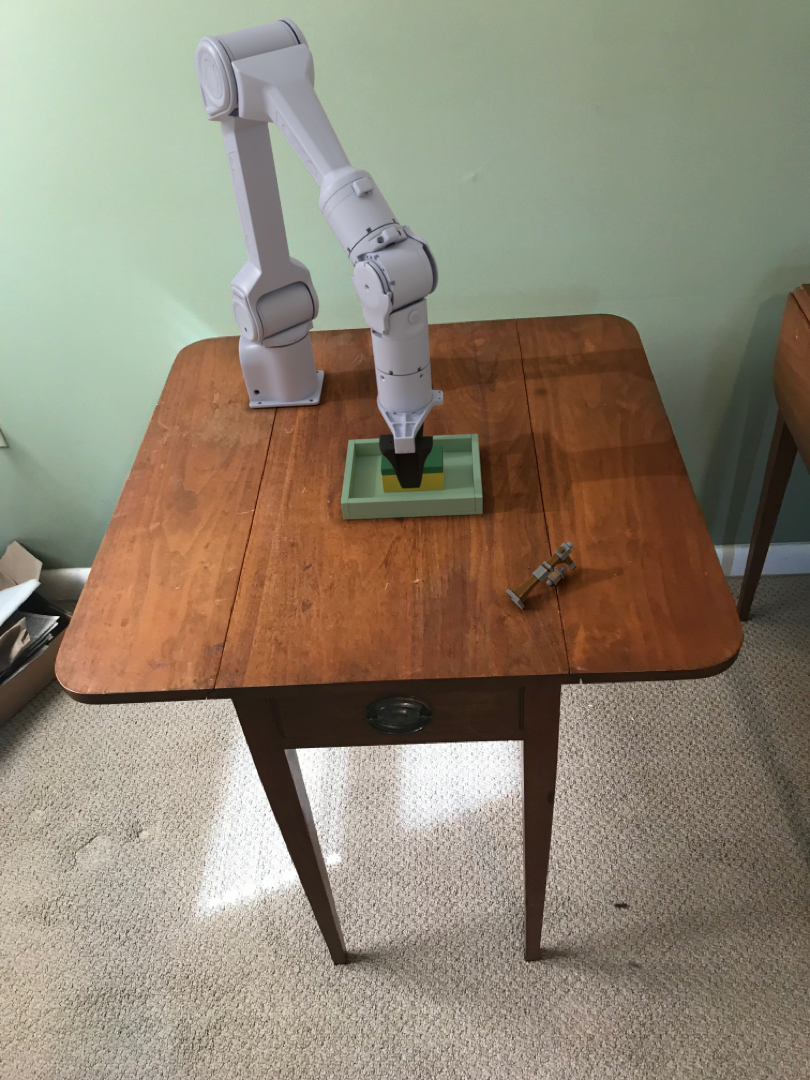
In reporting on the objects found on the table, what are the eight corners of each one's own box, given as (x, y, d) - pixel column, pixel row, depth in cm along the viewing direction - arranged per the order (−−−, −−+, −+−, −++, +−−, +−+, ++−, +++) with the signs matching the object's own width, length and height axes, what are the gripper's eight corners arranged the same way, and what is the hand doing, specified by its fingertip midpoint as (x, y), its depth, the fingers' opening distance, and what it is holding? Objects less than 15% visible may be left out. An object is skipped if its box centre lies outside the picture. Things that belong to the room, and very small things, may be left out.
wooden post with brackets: (587, 564, 77) (576, 543, 74) (529, 619, 77) (516, 601, 74) (574, 554, 78) (563, 533, 75) (518, 608, 78) (504, 589, 75)
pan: (343, 519, 86) (340, 503, 85) (351, 455, 95) (348, 439, 93) (482, 514, 85) (482, 497, 84) (478, 450, 94) (477, 433, 92)
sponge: (383, 492, 88) (380, 468, 86) (384, 470, 91) (382, 447, 89) (444, 490, 88) (442, 466, 86) (443, 468, 91) (442, 444, 88)
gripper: (442, 399, 73) (447, 505, 83) (440, 323, 83) (445, 425, 93) (368, 402, 74) (382, 507, 83) (376, 326, 84) (387, 427, 93)
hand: (411, 464), depth 88 cm, fingers open, 7 cm apart
